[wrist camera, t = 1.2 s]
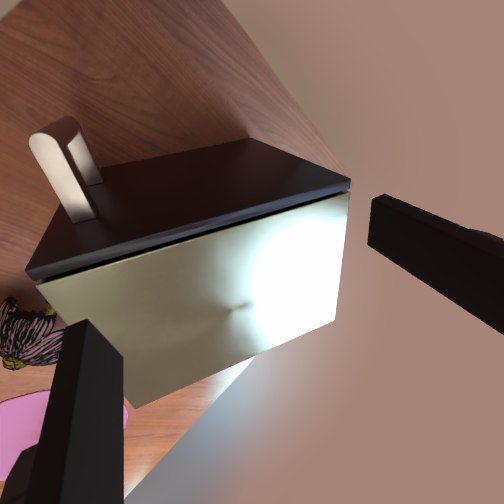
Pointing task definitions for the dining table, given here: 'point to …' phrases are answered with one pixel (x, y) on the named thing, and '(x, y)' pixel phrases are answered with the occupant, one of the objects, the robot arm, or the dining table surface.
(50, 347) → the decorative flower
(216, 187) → the compartment door
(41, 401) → the platter
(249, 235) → the storage compartment
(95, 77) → the dining table surface
